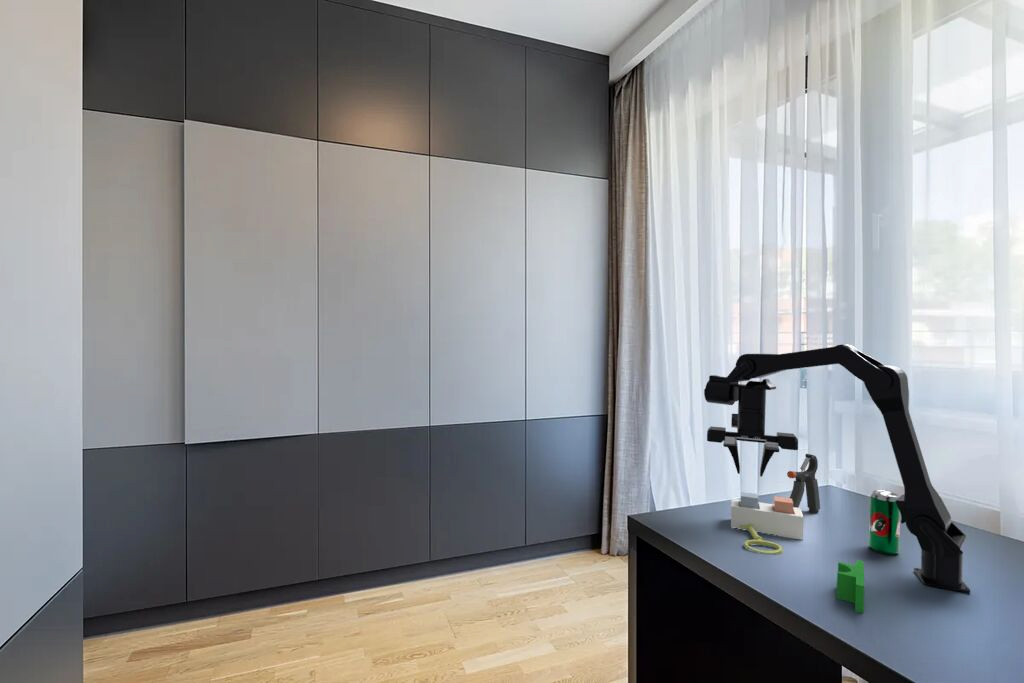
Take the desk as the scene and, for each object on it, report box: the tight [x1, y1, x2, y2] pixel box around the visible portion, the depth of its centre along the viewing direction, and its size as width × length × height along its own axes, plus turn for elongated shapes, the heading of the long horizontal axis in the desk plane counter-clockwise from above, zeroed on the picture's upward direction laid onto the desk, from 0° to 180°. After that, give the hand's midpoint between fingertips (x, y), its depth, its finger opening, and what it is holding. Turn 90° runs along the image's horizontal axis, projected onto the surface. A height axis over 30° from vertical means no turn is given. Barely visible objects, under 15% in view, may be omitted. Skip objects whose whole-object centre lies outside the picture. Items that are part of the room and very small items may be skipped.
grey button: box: [740, 491, 759, 509], centre depth 117 cm, size 4×4×5 cm
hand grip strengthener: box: [786, 453, 821, 514], centre depth 125 cm, size 2×12×15 cm, turn 118°
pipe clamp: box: [836, 559, 865, 614], centre depth 86 cm, size 11×4×5 cm, turn 145°
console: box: [730, 498, 804, 541], centre depth 115 cm, size 6×14×5 cm, turn 66°
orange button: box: [773, 495, 793, 514], centre depth 114 cm, size 4×4×5 cm
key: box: [740, 524, 784, 555], centre depth 108 cm, size 7×12×2 cm, turn 8°
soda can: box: [868, 489, 901, 556], centre depth 105 cm, size 5×5×12 cm
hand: (749, 474), depth 117 cm, fingers open, 4 cm apart
